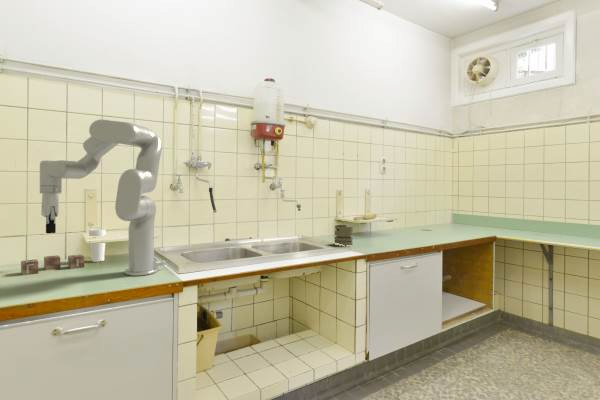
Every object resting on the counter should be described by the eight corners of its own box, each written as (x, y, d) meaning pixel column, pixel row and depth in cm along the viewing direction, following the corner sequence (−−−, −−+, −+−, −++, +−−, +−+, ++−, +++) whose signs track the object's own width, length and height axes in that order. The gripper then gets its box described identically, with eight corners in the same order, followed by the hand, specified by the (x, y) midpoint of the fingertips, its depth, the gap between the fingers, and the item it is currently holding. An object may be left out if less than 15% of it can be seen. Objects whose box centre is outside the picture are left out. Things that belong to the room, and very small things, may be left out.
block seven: (36, 271, 143) (36, 259, 142) (38, 273, 139) (38, 261, 139) (21, 273, 139) (21, 260, 139) (22, 275, 136) (22, 262, 135)
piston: (343, 227, 208) (330, 225, 217) (342, 247, 209) (330, 244, 218) (356, 226, 215) (344, 224, 224) (356, 245, 215) (343, 242, 224)
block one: (81, 265, 154) (81, 254, 153) (84, 267, 150) (84, 255, 150) (68, 267, 150) (68, 255, 150) (70, 269, 147) (70, 257, 146)
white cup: (86, 262, 159) (85, 230, 158) (94, 259, 165) (94, 228, 165) (101, 262, 159) (101, 230, 158) (108, 259, 166) (108, 228, 165)
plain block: (58, 266, 151) (58, 255, 151) (60, 268, 147) (60, 257, 147) (44, 268, 148) (44, 256, 147) (46, 270, 144) (45, 258, 144)
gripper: (37, 189, 149) (37, 231, 150) (42, 190, 138) (42, 236, 139) (58, 189, 154) (58, 230, 155) (64, 190, 143) (64, 234, 144)
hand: (50, 232), depth 147 cm, fingers closed
